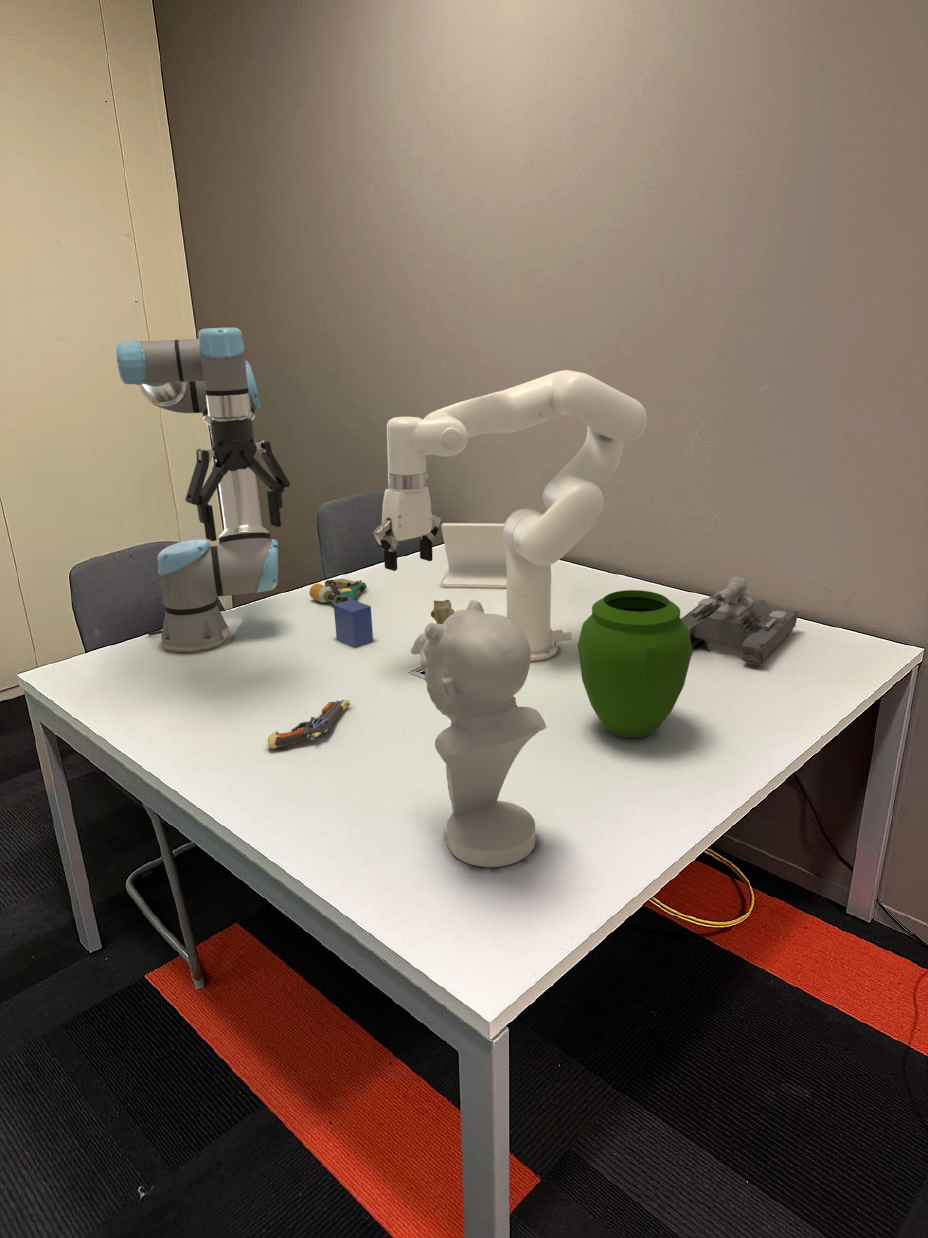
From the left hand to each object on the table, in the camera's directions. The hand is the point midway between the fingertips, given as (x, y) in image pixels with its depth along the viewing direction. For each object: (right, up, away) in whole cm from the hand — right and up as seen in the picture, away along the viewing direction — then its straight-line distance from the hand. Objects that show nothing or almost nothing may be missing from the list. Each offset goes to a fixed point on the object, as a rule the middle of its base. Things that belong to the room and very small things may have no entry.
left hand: (244, 532), depth 161 cm
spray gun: (+9, -11, +65) cm, 66 cm away
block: (+16, -21, +36) cm, 45 cm away
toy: (+102, -21, +29) cm, 108 cm away
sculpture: (+38, -27, +18) cm, 50 cm away
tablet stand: (+49, -5, +77) cm, 91 cm away
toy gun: (+13, -37, -4) cm, 39 cm away
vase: (+71, -36, -8) cm, 80 cm away
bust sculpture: (+42, -48, -36) cm, 73 cm away
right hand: (+30, -5, +13) cm, 33 cm away
